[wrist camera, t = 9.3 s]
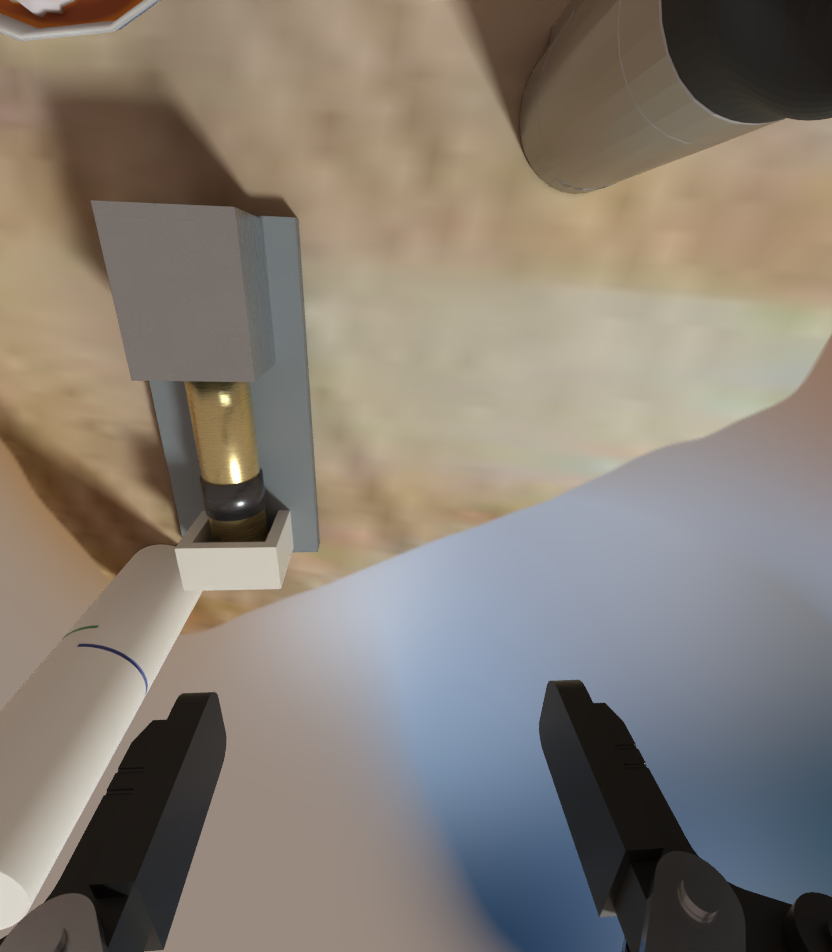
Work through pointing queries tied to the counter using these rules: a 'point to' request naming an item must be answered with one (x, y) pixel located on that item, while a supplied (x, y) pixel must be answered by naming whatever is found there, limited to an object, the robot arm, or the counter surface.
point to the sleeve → (188, 290)
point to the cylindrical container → (80, 717)
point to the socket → (234, 558)
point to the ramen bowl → (67, 17)
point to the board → (260, 406)
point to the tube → (228, 460)
